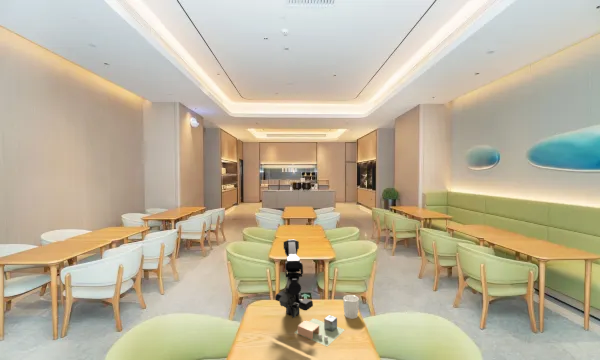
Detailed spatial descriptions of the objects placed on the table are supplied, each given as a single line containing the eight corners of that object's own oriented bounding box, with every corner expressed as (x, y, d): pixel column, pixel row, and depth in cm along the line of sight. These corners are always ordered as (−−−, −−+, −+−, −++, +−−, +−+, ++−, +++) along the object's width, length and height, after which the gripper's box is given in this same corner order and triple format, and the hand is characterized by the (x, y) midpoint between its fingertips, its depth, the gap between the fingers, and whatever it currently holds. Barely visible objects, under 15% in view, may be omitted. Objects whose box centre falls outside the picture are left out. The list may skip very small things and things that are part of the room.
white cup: (358, 321, 149) (358, 302, 149) (342, 320, 151) (342, 300, 150) (358, 314, 157) (358, 295, 156) (343, 312, 158) (343, 294, 158)
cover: (297, 333, 137) (297, 325, 137) (305, 327, 142) (305, 320, 142) (311, 339, 132) (311, 331, 132) (319, 333, 137) (319, 325, 137)
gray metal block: (324, 329, 141) (324, 318, 141) (329, 324, 144) (329, 314, 144) (332, 332, 138) (332, 321, 138) (337, 327, 142) (337, 317, 142)
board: (294, 334, 138) (294, 325, 138) (313, 320, 151) (313, 311, 151) (327, 348, 127) (327, 338, 127) (345, 331, 140) (345, 322, 140)
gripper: (267, 286, 140) (267, 318, 141) (299, 297, 129) (299, 331, 130) (282, 279, 149) (282, 309, 150) (313, 288, 138) (313, 320, 139)
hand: (293, 317), depth 142 cm, fingers closed
